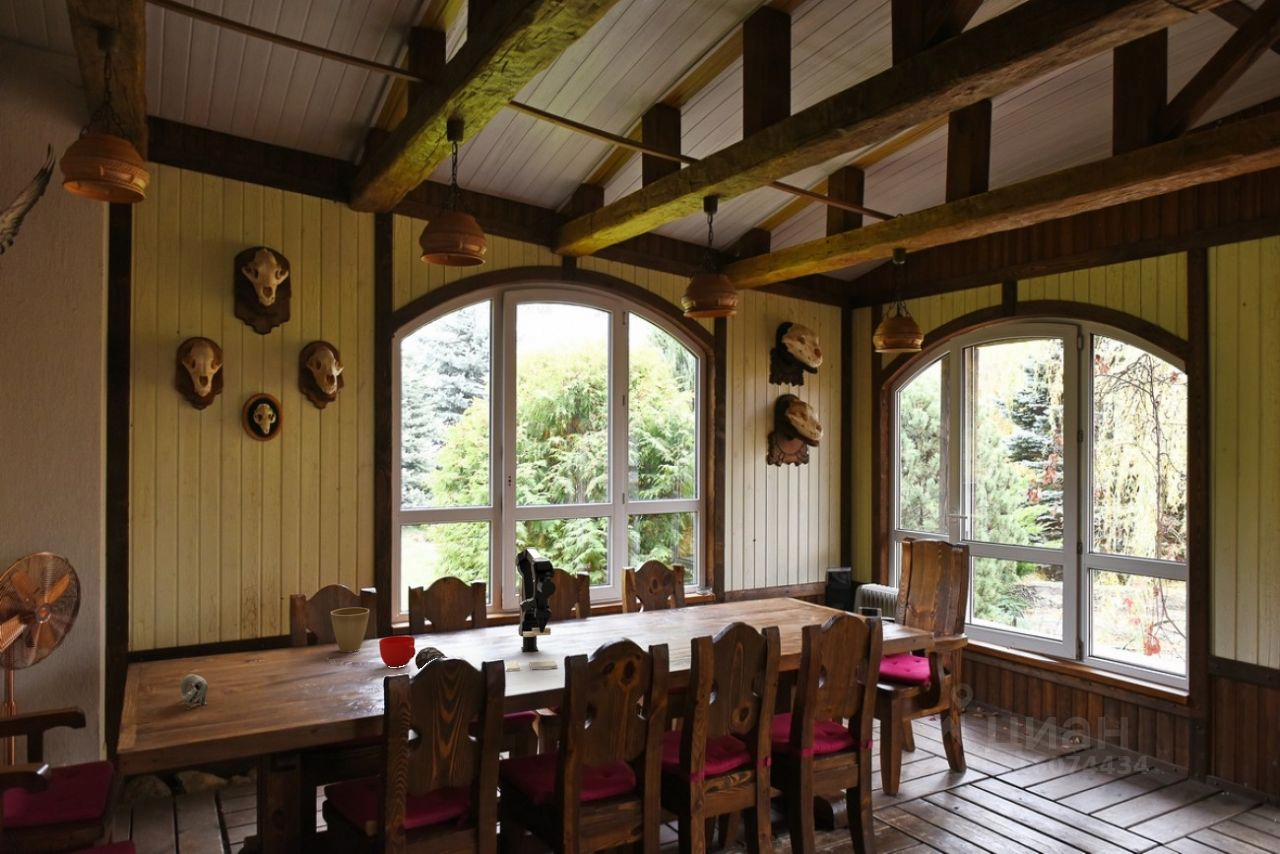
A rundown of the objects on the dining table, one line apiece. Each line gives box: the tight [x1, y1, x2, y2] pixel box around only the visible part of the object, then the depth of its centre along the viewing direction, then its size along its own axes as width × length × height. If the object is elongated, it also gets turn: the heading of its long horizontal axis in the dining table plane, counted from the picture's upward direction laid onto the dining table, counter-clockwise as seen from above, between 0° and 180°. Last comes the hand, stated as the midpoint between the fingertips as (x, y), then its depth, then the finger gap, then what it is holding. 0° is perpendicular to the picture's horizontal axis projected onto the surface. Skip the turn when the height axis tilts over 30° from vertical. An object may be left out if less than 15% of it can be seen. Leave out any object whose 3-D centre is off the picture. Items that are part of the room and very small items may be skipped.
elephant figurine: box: [180, 673, 209, 709], centre depth 265 cm, size 8×14×15 cm
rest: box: [529, 660, 558, 670], centre depth 313 cm, size 7×10×1 cm
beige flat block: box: [522, 627, 552, 637], centre depth 322 cm, size 5×10×2 cm, turn 102°
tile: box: [505, 661, 521, 672], centre depth 311 cm, size 2×7×8 cm
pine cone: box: [414, 646, 449, 670], centre depth 300 cm, size 10×18×10 cm, turn 49°
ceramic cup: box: [378, 635, 417, 667], centre depth 312 cm, size 13×17×10 cm
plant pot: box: [330, 607, 370, 653], centre depth 336 cm, size 15×15×16 cm
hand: (541, 631), depth 322 cm, fingers closed on beige flat block, 3 cm apart
